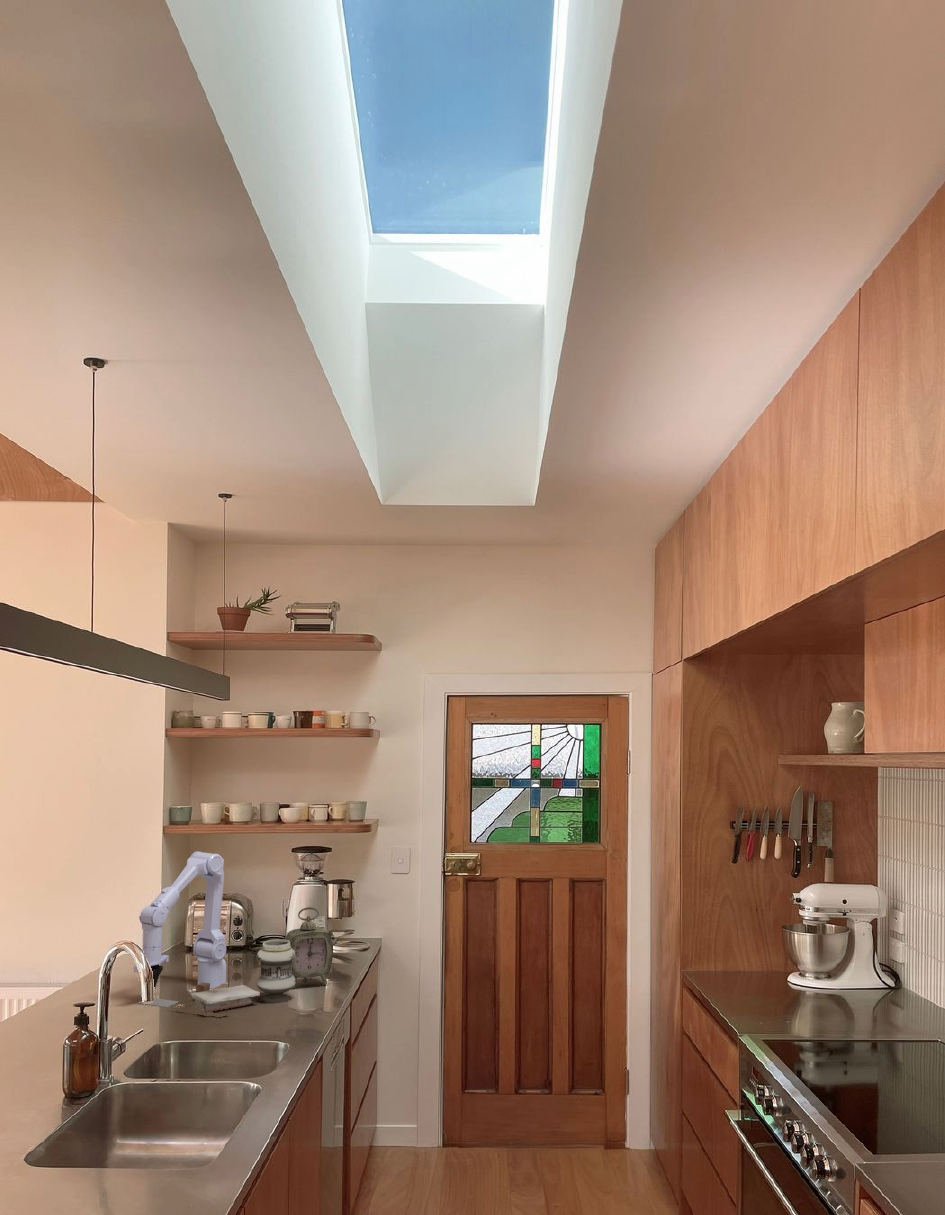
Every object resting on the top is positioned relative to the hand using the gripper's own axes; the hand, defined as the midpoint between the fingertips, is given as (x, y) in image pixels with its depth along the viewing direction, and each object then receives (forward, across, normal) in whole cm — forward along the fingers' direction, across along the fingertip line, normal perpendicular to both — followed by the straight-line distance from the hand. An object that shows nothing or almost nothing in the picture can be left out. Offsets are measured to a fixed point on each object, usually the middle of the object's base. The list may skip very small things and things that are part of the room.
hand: (150, 990), depth 330 cm
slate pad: (+3, 0, +3) cm, 5 cm away
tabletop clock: (+4, -36, +34) cm, 50 cm away
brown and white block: (+4, -8, +17) cm, 19 cm away
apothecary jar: (+4, -17, +34) cm, 38 cm away
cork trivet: (+3, +2, +20) cm, 20 cm away
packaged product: (+1, -6, +20) cm, 21 cm away
